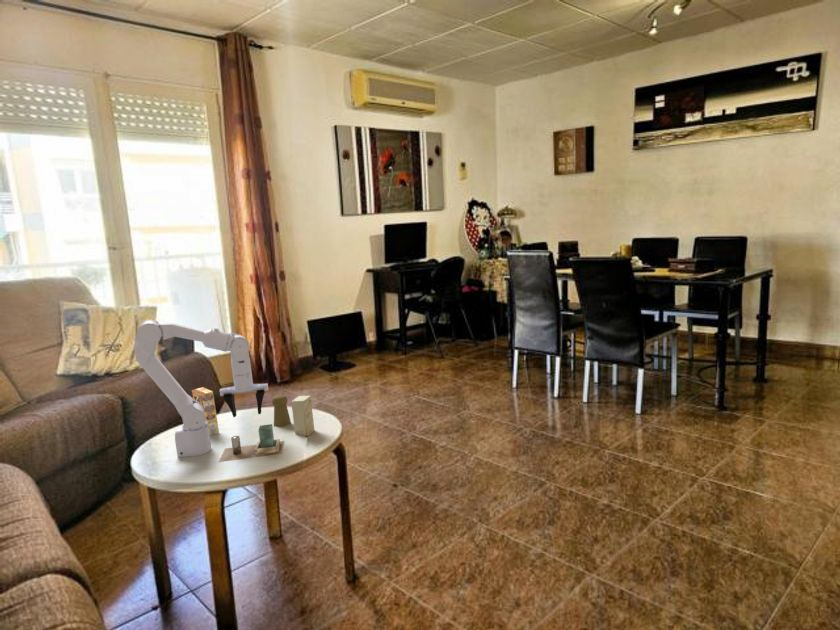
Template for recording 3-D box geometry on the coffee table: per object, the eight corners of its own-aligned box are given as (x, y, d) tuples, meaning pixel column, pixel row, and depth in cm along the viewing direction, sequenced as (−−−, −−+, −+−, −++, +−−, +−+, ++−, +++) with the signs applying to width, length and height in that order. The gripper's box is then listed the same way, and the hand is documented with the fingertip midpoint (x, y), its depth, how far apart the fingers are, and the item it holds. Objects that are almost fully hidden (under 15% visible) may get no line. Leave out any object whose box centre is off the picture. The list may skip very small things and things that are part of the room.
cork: (286, 421, 191) (282, 391, 190) (294, 425, 187) (291, 395, 185) (270, 426, 187) (266, 396, 186) (278, 430, 183) (275, 399, 181)
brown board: (219, 464, 158) (217, 456, 158) (225, 451, 168) (224, 443, 168) (282, 456, 161) (281, 448, 161) (284, 443, 171) (283, 436, 170)
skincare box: (307, 437, 175) (303, 401, 173) (294, 437, 176) (290, 401, 174) (314, 430, 181) (311, 395, 179) (302, 430, 182) (298, 395, 180)
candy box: (219, 434, 183) (214, 390, 181) (207, 438, 181) (201, 394, 178) (209, 428, 190) (203, 386, 187) (197, 432, 187) (191, 389, 185)
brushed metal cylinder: (232, 455, 162) (230, 439, 162) (233, 451, 165) (231, 436, 164) (240, 453, 163) (238, 438, 162) (242, 450, 165) (240, 435, 164)
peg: (261, 451, 163) (258, 429, 162) (262, 447, 167) (259, 425, 166) (273, 450, 164) (270, 428, 163) (274, 445, 167) (272, 424, 166)
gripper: (267, 367, 175) (272, 407, 177) (220, 372, 173) (226, 413, 175) (264, 373, 168) (269, 414, 171) (216, 378, 166) (221, 420, 168)
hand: (247, 414), depth 172 cm, fingers open, 7 cm apart
